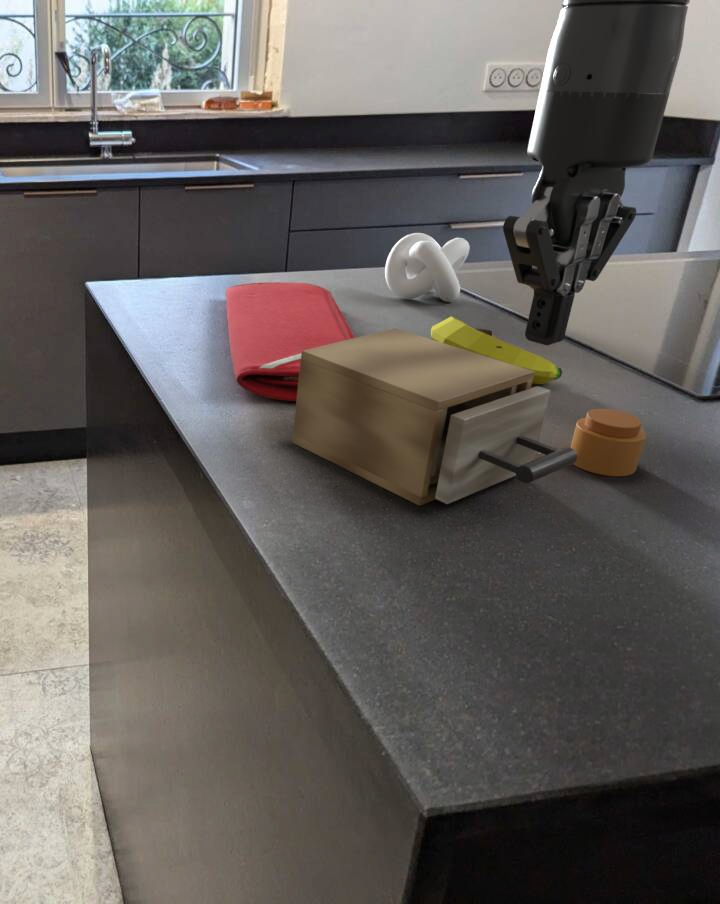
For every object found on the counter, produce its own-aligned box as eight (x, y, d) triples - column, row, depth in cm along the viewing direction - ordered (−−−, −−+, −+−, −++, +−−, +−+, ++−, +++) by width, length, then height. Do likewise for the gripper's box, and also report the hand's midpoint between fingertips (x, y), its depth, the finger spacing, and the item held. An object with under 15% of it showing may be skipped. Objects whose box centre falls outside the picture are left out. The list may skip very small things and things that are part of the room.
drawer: (585, 491, 67) (608, 408, 64) (500, 530, 61) (521, 441, 58) (404, 417, 81) (416, 346, 78) (321, 444, 75) (330, 368, 72)
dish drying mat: (331, 302, 122) (333, 277, 120) (384, 408, 85) (389, 374, 84) (224, 299, 123) (225, 275, 122) (231, 402, 87) (233, 368, 85)
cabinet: (512, 468, 73) (535, 371, 69) (419, 506, 66) (438, 401, 63) (382, 414, 84) (395, 328, 80) (291, 442, 77) (301, 350, 74)
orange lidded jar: (588, 445, 77) (600, 401, 75) (647, 466, 73) (662, 421, 71) (555, 459, 74) (567, 414, 73) (615, 482, 70) (629, 435, 68)
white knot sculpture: (419, 283, 133) (428, 226, 129) (485, 299, 124) (497, 239, 120) (372, 293, 127) (380, 234, 124) (438, 310, 118) (449, 248, 115)
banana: (545, 357, 87) (606, 352, 96) (408, 310, 99) (474, 309, 108) (529, 398, 89) (591, 389, 98) (397, 346, 101) (463, 343, 110)
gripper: (606, 88, 47) (538, 372, 55) (715, 86, 54) (641, 340, 61) (490, 85, 53) (443, 342, 61) (601, 83, 60) (546, 316, 67)
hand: (543, 340), depth 61 cm, fingers closed
